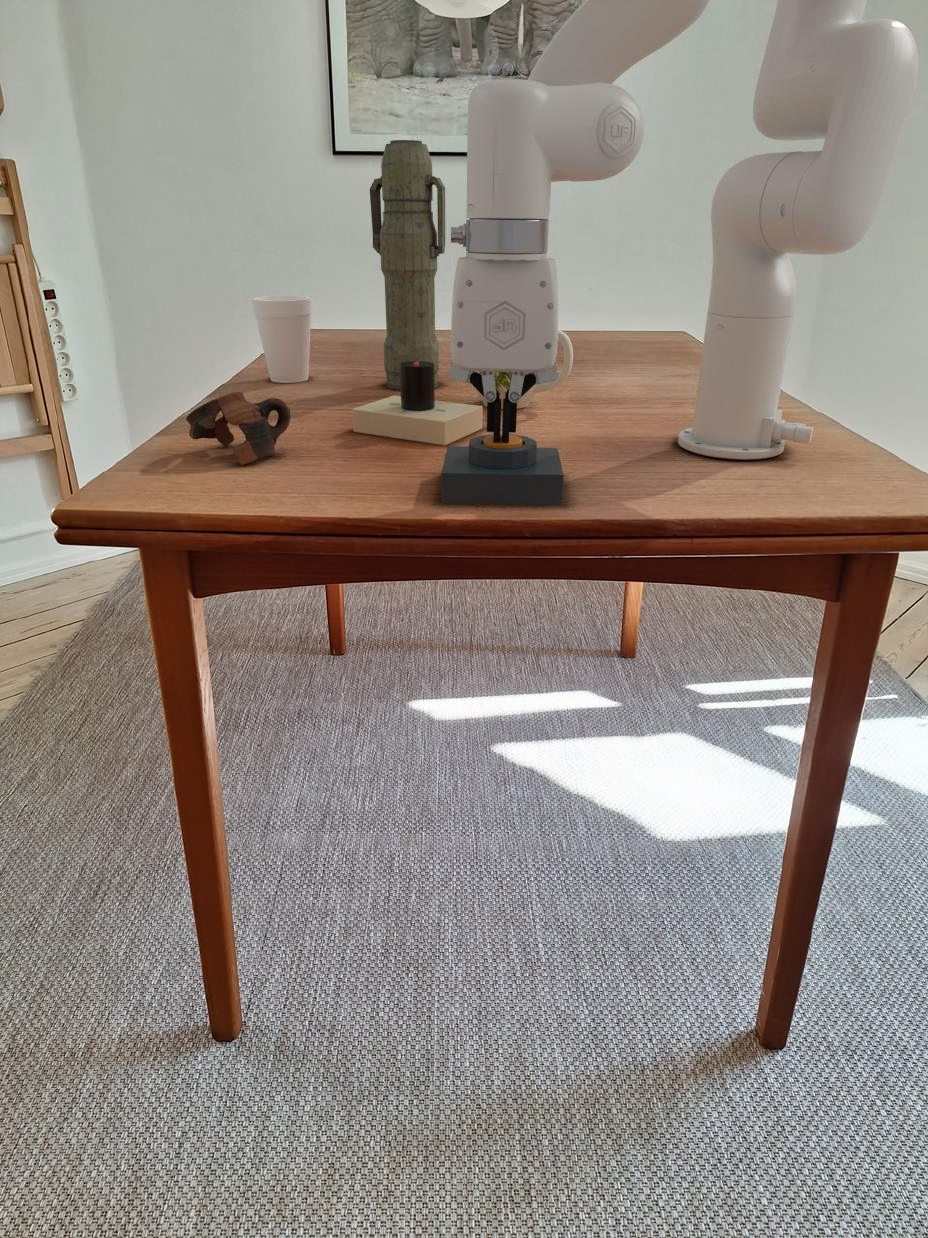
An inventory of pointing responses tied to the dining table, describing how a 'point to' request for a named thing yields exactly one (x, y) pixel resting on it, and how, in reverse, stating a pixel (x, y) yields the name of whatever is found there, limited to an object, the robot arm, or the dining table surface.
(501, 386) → the pitcher
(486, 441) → the release button
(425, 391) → the dial
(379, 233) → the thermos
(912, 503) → the dining table surface
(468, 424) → the dial panel
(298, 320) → the foam cup
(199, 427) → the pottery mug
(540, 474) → the button base
